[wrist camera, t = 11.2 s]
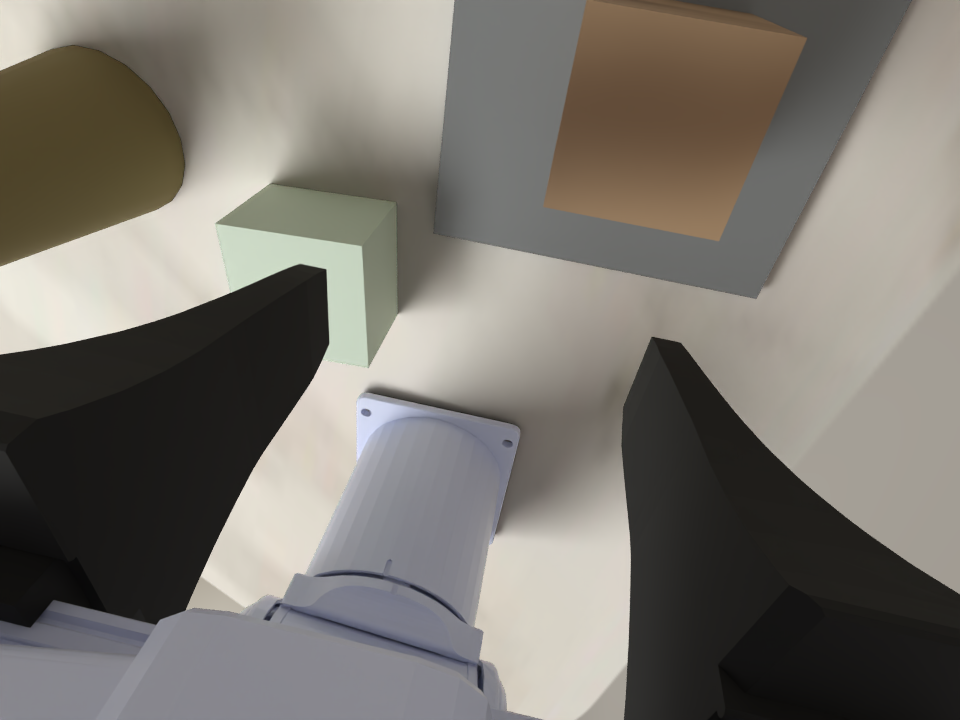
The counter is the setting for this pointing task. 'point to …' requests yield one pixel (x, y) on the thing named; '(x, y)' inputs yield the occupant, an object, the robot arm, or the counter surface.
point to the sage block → (322, 258)
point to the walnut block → (667, 112)
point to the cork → (79, 149)
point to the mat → (537, 116)
